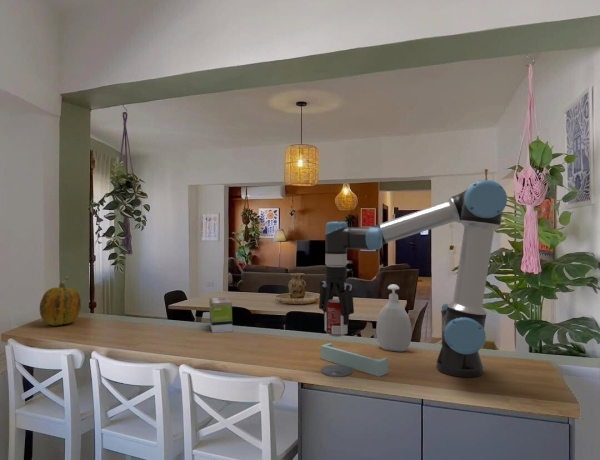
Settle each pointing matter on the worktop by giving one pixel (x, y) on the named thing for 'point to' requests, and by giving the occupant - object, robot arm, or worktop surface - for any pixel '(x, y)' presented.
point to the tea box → (220, 314)
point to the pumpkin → (60, 305)
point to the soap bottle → (393, 325)
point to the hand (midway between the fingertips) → (335, 331)
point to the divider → (354, 360)
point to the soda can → (333, 318)
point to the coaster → (336, 370)
